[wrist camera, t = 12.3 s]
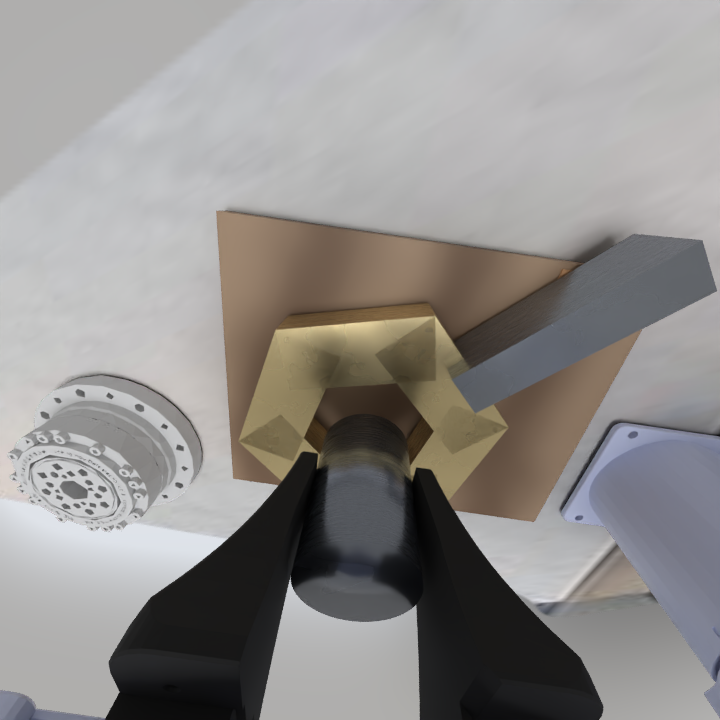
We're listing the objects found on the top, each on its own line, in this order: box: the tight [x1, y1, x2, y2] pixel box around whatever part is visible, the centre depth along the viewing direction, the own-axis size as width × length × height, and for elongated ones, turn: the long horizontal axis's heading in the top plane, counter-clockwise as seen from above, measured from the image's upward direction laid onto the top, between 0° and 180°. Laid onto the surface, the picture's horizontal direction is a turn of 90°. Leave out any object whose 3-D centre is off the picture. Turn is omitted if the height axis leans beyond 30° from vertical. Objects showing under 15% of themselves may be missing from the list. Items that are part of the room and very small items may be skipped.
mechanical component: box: [7, 375, 202, 532], centre depth 19 cm, size 10×4×10 cm
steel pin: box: [291, 414, 424, 622], centre depth 12 cm, size 4×4×6 cm
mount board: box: [216, 211, 642, 522], centre depth 17 cm, size 20×16×1 cm
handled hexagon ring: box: [239, 234, 717, 501], centre depth 15 cm, size 20×13×3 cm
